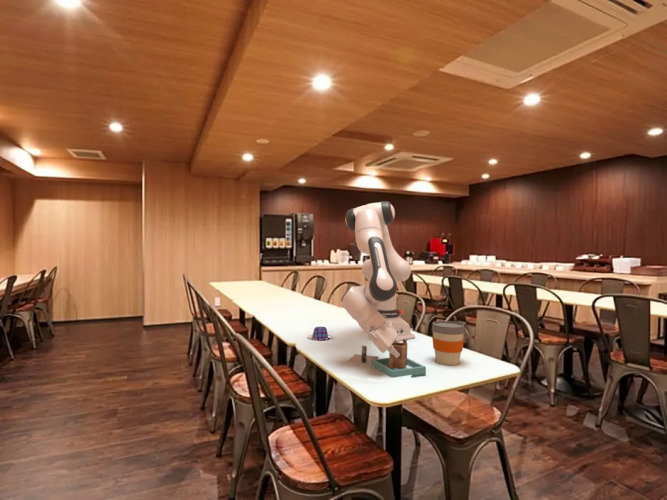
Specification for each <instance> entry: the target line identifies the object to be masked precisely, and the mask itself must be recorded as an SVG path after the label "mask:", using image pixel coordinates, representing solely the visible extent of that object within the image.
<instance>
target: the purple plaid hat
mask: <svg viewBox="0 0 667 500" xmlns="http://www.w3.org/2000/svg"><path fill="white" fill-rule="evenodd" d="M327 329H328V328H327V327H325V326H316V327H314V329H313V332H312V334H310V335H308V336H307V338H309V339H311V340H315V341H322V340H321V339H325V340H324V341H326V340H328V339H326V338H329V337H330V339H329V340H331V339H332V338H334V337H333V336H332V335H330V334H329V333H328V330H327ZM328 336H329V337H328ZM311 337H312V338H313V339H312V338H311ZM317 339H319V340H317Z"/></svg>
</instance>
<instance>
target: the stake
mask: <svg viewBox="0 0 667 500" xmlns="http://www.w3.org/2000/svg"><path fill="white" fill-rule="evenodd" d="M367 347H368V346H367V345H361V354H359V353H355V354H354V355H353V356H352V357H351V358H349V360H348V362H354V363H362V364H368V365H369V364H370V365H372V360H374V359H380V358H379V357H380V356H374V355H368V354H367V353H368V351H367V349H368V348H367Z"/></svg>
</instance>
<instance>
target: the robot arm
mask: <svg viewBox="0 0 667 500" xmlns="http://www.w3.org/2000/svg"><path fill="white" fill-rule="evenodd" d="M395 211H396V210H395V207H394V206H393V205H392V203H391V202H390V201H386V200H385V201H379V202H371V203H367V204H364V205H361V206H357V207H355V208H354V207H353V208H350V209H348V210H347V212H346V213H345V223H346V224H345V225H346V227H347V229H348V230H350V231H352V232H354V234H355V235H354V236H355V243H356V246H357V248H358V251H359V252H361V253H362V254H366V255H369V259H365V260H364V261H363V263H362V267H361V271H362V274H363V276H364V277H365V278H366V279H367V281H368V283H366V284H363V285H357V286H353V285H352V286H350V287H348V288H347V290H346V291H345V292H344V294H343V295H342V296H341V299H340V301H341V302H340V303H341V305H342V307H343V308H344V309H345V311H346V312H347V313H348V315H349V316H350V317H351V318H352V319H353V320H355V321H356V322H357V324H358V326H359V327H360V329H362V331H363V332H364V333H365V334H366V335H367V336H368V337H369V338H370V340H371V342H372V343H373V344H374V345H375V346H376V348H377V349H378V350H379V352H380V353H383V354H384V353H385V352H390V353H391V354H393V355H394V356H395V357H396V358H398V357H399V356H400V353H399V352H398V351H397V350H396V349H394V348H393V346H392V344H393V342H400V341H403V339H407V340H412V339H415V338H416V335H415V334H414V333H412V332H411V326H410V324H409V323H408V322H406V321H405V320H404V319H403V318H402V317H401V316H400V315H403V314H404V310H403V309H398V308H397V298H398V297H397V290H398V286H397V282H403V281H405V282H406V281H407V280H408V279H409V278H410V276H411V273H412V268H411V264H410V263H409V261H407V260H405V259H404V258H403V257H401V256H400V254H398V252H397V251H396V250H395V248H394V246H393V243H392V240H391V235H390V233H389V232H390V231H389V228H388V226H389V225H390V224H392V223H393V222H394V220H395V217H396V212H395Z"/></svg>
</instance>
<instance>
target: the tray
mask: <svg viewBox="0 0 667 500" xmlns="http://www.w3.org/2000/svg"><path fill="white" fill-rule="evenodd" d="M386 365H389V357H385V358H383V357H382V358H378V359H374V360H372V364H371V366H372V367H374V368H375V369H377V370H379V371H380V372H382V373H383V374H386V375H387V376H388V377H390V378H397V377H406V376H410V375H411V376H410V378H417V377H424V376H426V375H427V367H426V366H425V365H423V364H421V363H419V362H417V361H415V360H412V359H411V358H408V357H407V365H408V366H409V367H408V368H407V367H406V368H405V369H393V368H389V366H386Z"/></svg>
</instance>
